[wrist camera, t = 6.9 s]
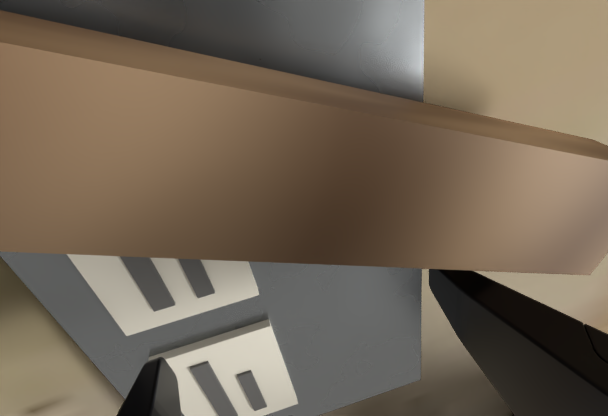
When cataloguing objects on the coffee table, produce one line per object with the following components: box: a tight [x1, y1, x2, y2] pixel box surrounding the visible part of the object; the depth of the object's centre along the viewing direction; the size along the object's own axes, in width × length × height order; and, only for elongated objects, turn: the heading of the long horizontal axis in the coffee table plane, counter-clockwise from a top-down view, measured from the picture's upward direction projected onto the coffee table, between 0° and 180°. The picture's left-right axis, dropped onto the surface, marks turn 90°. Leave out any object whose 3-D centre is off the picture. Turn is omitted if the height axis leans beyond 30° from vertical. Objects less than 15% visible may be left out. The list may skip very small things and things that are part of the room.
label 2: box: [148, 319, 298, 416], centre depth 13 cm, size 5×4×1 cm
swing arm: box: [0, 10, 608, 275], centre depth 7 cm, size 16×3×3 cm, turn 75°
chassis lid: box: [0, 0, 424, 416], centre depth 11 cm, size 18×11×1 cm, turn 10°
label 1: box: [67, 254, 259, 336], centre depth 10 cm, size 5×4×1 cm
